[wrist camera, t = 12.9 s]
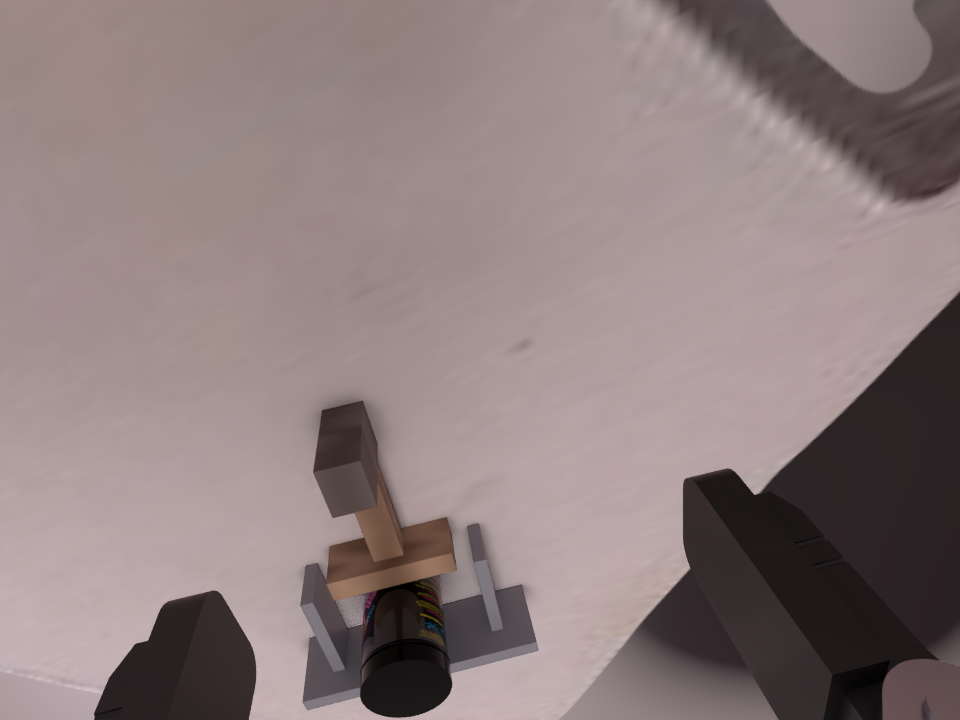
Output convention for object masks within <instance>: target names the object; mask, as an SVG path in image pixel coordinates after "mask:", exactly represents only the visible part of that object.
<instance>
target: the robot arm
mask: <svg viewBox="0 0 960 720" xmlns="http://www.w3.org/2000/svg"><path fill="white" fill-rule="evenodd" d="M683 542H684V549H685V553H686V557H687V560H688V563H689V565H690V568H691V570H692V572H693V574H694V576H695V578H696V580H697V582H698V583H699V585H700V587H701V588H702V590H703V591H704V593H705V595H706V597H707V598H708V600H709V602H710V603H711V605H712V607H713V609H714V610H715V612H716V614H717V616H718V617H719V619H720V621H721V622H722V624H723V625H724V628H725V629H726V631H727V632H728V634H729V636H730V638H731V639H732V641H733V643H734V644H735V646H736V648H737V650H738V651H739V653H740V655H741V656H742V658H743V660H744V661H745V663H746V665H747V667H748V668H749V670H750V672H751V673H752V675H753V677H754V679H755V680H756V682H757V684H758V685H759V687H760V689H761V690H762V692H763V694H764V696H765V697H766V699H767V701H768V702H769V704H770V706H771V707H772V709H773V711H774V713H775V714H776V716H777V718H778V719H779V720H960V667H959V666H956V665H953V664H950V663H947V662H943V661H940V660H939V659H937V658H936V657H935V656H933V654H931V653H930V652H929V651H928V650H927V649H926V648H925V647H924V646H923V645H922V644H921V643H920V641H919V640H918V639H917V638H916V637H915V636H914V635H913V634H912V633H911V631H910V630H909V629H908V628H907V627H906V626H905V625H904V624H903V623H902V621H901V620H900V619H899V618H898V617H897V616H896V615H895V614H894V613H893V611H892V610H891V609H890V608H889V607H888V606H887V605H886V604H885V602H884V601H883V600H882V599H881V598H880V597H879V596H878V595H877V594H876V592H875V591H874V590H873V589H872V588H871V587H870V586H869V585H868V584H867V583H866V582H865V580H864V579H863V578H862V577H861V576H860V575H859V574H858V572H857V571H856V570H855V569H854V568H853V567H852V566H851V565H850V564H849V563H848V562H845V561H844V559H843V556H842V555H841V553H840V552H839V551H838V550H837V549H836V548H835V547H834V546H833V545H832V543H831V542H830V541H829V540H827V541H826V540H825V538H824V535H823V533H822V532H821V531H820V530H819V529H818V528H817V527H816V526H815V525H814V524H813V522H812V521H811V520H810V519H809V518H808V517H807V516H806V515H805V513H804V512H803V511H802V510H801V509H799V508H797V507H796V506H794V505H792V504H791V503H789V502H787V501H786V500H784V499H782V498H781V497H779V496H777V495H776V494H774V493H772V492H771V491H769V492H765V493H761V494H757V495H754V494H753V493H752V492H751V490H750V489H749V488H748V487H747V486H746V484H745V483H744V482H743V481H742V479H741V478H740V477H739V476H738V475H737V474H736V473H735V472H734V471H733V470H731V469H728V468H727V469H723V470H719V471H715V472H711V473H706V474H702V475H698V476H694V477H690V478H686V479H685V480H684V484H683ZM255 683H256V662H255V656H254V652H253V649H252V646H251V644H250V642H249V640H248V639H247V637H246V635H245V634H244V632H243V630H242V629H241V627H240V625H239V623H238V622H237V620H236V618H235V617H234V615H233V613H232V612H231V610H230V608H229V606H228V605H227V603H226V601H225V600H224V598H223V596H222V595H221V594H220V593H219V592H218V591H209V592H205V593H201V594H197V595H193V596H189V597H185V598H180V599H176V600H172V601H168V602H167V603H165V604H164V605H163V607H162V608H161V610H160V612H159V614H158V617H157V619H156V622H155V624H154V627H153V630H152V632H151V635H150V637H149V640H148V641H145V642H141V643H137V644H135V645H134V646H133V648H132V649H131V650H130V652H129V653H128V654H127V655H126V657H125V658H124V659H123V661H122V662H121V663H120V665H119V666H118V667H117V668H116V670H115V671H114V672H113V674H112V675H111V676H110V678H109V680H108V682H107V684H106V687H105V689H104V691H103V694H102V696H101V699H100V701H99V703H98V706H97V708H96V710H95V713H94V715H95V719H94V720H249V715H250V710H251V705H252V700H253V694H254V689H255Z"/></svg>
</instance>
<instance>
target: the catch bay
mask: <svg viewBox="0 0 960 720" xmlns="http://www.w3.org/2000/svg"><path fill="white" fill-rule="evenodd" d="M467 528H468V534H469V539H470V545H471V550H472V556H473V561H474V565H475V569H476V573H477V577H478V580H479V584H480V588H481V591H482V595H480V596H476V597H472V598H468V599H464V600H460V601H456V602H452V603H448V604H444V605H443V610H444V619H445V628H446V637H447V645H448V654H449V659H450V665H451V667H450V668H451V673H454V672H458V671H462V670H466V669H470V668H473V667H477V666H481V665H485V664H489V663H493V662H497V661H501V660H504V659H508V658H512V657H516V656H520V655H524V654H528V653H532V652H535V651H538V646H537V641H536V638H535V634H534V630H533V626H532V622H531V619H530V615H529V611H528V607H527V603H526V600H525V596H524V592H523V588H522V585H519V586H515V587H511V588H507V589H503V590H499V591H495V587H494V583H493V579H492V575H491V571H490V567H489V563H488V559H487V555H486V551H485V547H484V543H483V539H482V535H481V531H480V527H479V524H475V525H471V526H467ZM300 606H301V608H302V610H303V612H304V614H305V616H306V618H307V620H308V622H309V624H310V626H311V628H312V630H313V632H314V634H315V636H316V637H313V638H310V642H309V651H308V660H307V668H306V677H305V686H304V694H303V704H304V706H305V707H306V709H307V710H311V709H314V708H318V707H322V706H326V705H330V704H334V703H338V702H342V701H345V700H349V699H353V698H357V697H360V669H361V656H362V625H361V626H357V627H353V628H349V629H347V627H346V625H345V622H344V620H343V618H342V616H341V614H340V611H339V609H338V607H337V605H336V603H335V601H334V600H333V598H332V596H331V593H330V591H329V589H328V587H327V585H326V581H325V579H324V577H323V574H322V572H321V570H320V568H319V566H318V564H313V565H309V566H306V568H305V576H304V583H303V590H302V597H301V604H300Z"/></svg>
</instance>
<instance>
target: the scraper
mask: <svg viewBox="0 0 960 720" xmlns="http://www.w3.org/2000/svg"><path fill="white" fill-rule="evenodd" d="M313 473H314V475H315V478H316V480H317V482H318V485H319V487H320V489H321V492H322V494H323V497H324V499H325V501H326V504H327V506H328V508H329V511H330V513H331V515H332V518H335V517H339V516H343V515H347V514H351V513H355V515H356V518H357V520H358V523H359V525H360V528H361V530H362V533H363V535H364V538H361V539H357V540H353V541H349V542H345V543H341V544H337V545H333V546H330V550H329V561H328V572H327V582H326V585H327V587H328V589H329V591H330V593H331V596H332V598H333V600H334V601H336V600H340V599H344V598H348V597H352V596H356V595H360V594H364V593H368V592H372V591H376V590H380V589H384V588H388V587H392V586H396V585H400V584H404V583H408V582H412V581H416V580H420V579H424V578H428V577H431V576H435V575H439V574H443V573H447V572H451V571H455V570H457V568H456V561H455V554H454V548H453V541H452V534H451V531H450V527H449V524H448V520H447V517H446V518H442V519H438V520H434V521H430V522H426V523H422V524H418V525H414V526H410V527H406V528H402V529H400V527H399V524H398V521H397V518H396V516H395V513H394V510H393V507H392V504H391V501H390V498H389V496H388V493H387V490H386V487H385V484H384V481H383V478H382V476H381V473H380V470H379V467H378V464H377V441H376V438H375V435H374V432H373V430H372V427H371V424H370V421H369V418H368V415H367V412H366V409H365V406H364V403H363V401H361V402H357V403H352V404H348V405H344V406H340V407H336V408H331V409H327V410H323V411H322V416H321V423H320V430H319V436H318V443H317V450H316V457H315V463H314V470H313Z"/></svg>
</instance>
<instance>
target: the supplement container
mask: <svg viewBox="0 0 960 720" xmlns="http://www.w3.org/2000/svg"><path fill="white" fill-rule="evenodd" d="M450 667H451V665H450V659H449V654H448V645H447V637H446V628H445V619H444V610H443V601H442V592H441V583H440V576H439V575H435V576H431V577H428V578H424V579H420V580H416V581H412V582H408V583H404V584H400V585H396V586H392V587H388V588H384V589H380V590H376V591H372V592H368V593H364V594H363V621H362V656H361V669H360V698H361V701H362V703H363V704H364V705H365V706H366V708H368V709H369V710H370V711H372V712H374V713H376V714H379V715H382V716H386V717H395V718H401V717H411V716H416V715H419V714H423V713H425V712H428V711H430V710H432V709H434V708H435V707H437V706H438V705H440V704H441V703H442V702H443V701H444V700H445V699H446V698H447V697H448V695H449V694H450V691H451V688H452V677H451V668H450Z"/></svg>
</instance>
